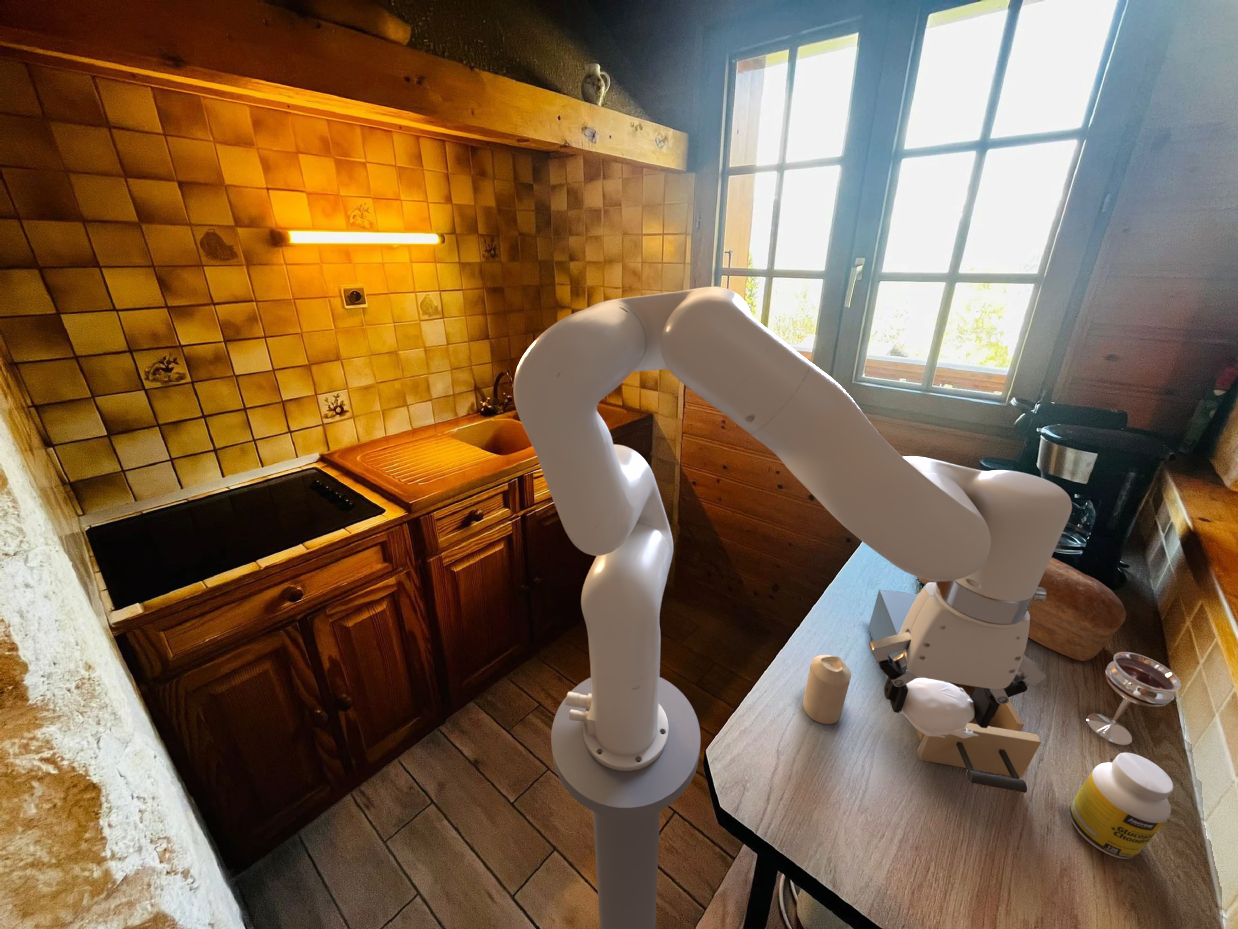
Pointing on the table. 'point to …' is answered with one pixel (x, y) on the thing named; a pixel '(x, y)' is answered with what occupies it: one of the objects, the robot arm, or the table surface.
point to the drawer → (986, 749)
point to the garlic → (938, 708)
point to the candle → (826, 688)
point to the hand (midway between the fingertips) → (934, 709)
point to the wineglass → (1134, 691)
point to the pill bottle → (1122, 805)
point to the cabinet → (890, 615)
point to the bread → (1073, 612)
